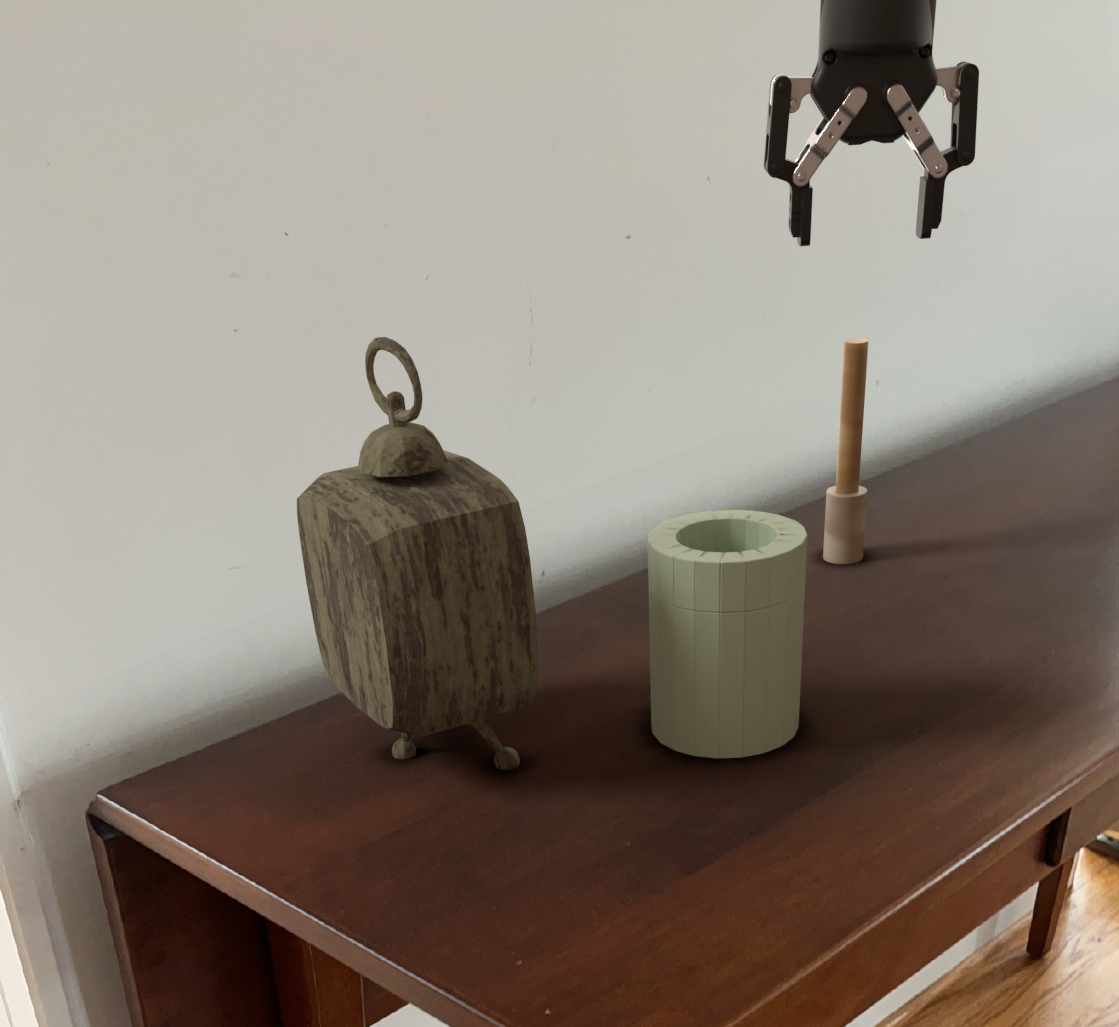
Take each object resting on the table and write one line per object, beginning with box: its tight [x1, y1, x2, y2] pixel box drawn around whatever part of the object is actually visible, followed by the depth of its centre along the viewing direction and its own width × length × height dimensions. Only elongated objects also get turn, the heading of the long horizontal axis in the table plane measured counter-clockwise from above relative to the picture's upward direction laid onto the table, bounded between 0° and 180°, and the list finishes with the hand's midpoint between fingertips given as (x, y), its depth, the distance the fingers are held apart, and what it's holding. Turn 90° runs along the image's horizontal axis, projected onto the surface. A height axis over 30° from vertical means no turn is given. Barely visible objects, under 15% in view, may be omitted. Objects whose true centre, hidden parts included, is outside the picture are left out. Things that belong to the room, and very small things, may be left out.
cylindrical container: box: [647, 509, 808, 760], centre depth 89 cm, size 9×9×13 cm
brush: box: [822, 337, 869, 565], centre depth 111 cm, size 3×3×17 cm
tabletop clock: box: [296, 336, 538, 771], centre depth 85 cm, size 14×9×25 cm, turn 30°
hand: (862, 240), depth 102 cm, fingers open, 8 cm apart
